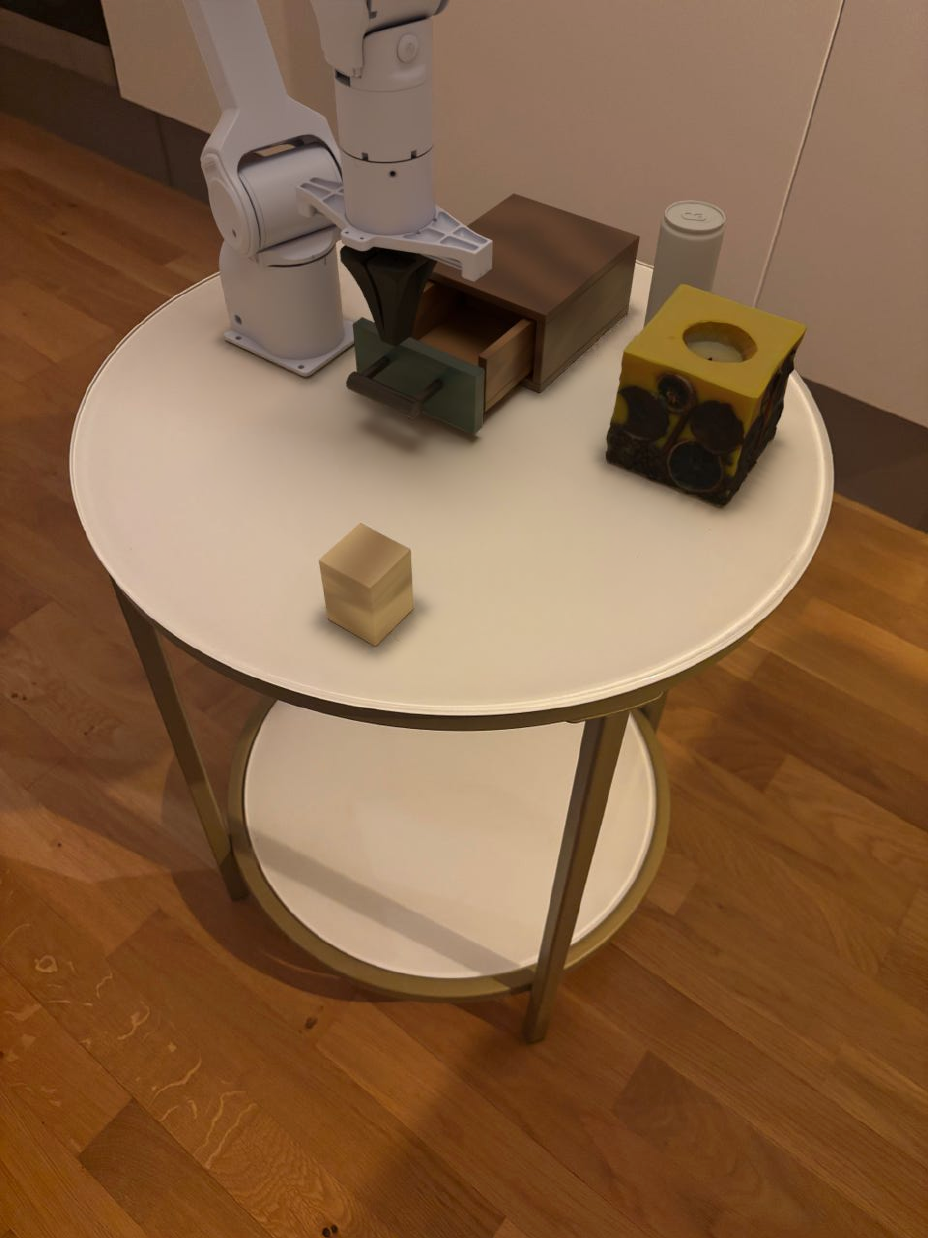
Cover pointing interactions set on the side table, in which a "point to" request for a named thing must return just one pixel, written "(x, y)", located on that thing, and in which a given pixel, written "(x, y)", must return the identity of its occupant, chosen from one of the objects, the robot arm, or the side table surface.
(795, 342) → the candle
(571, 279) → the cabinet
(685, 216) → the beverage can
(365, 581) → the block
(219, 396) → the side table surface
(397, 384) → the drawer
